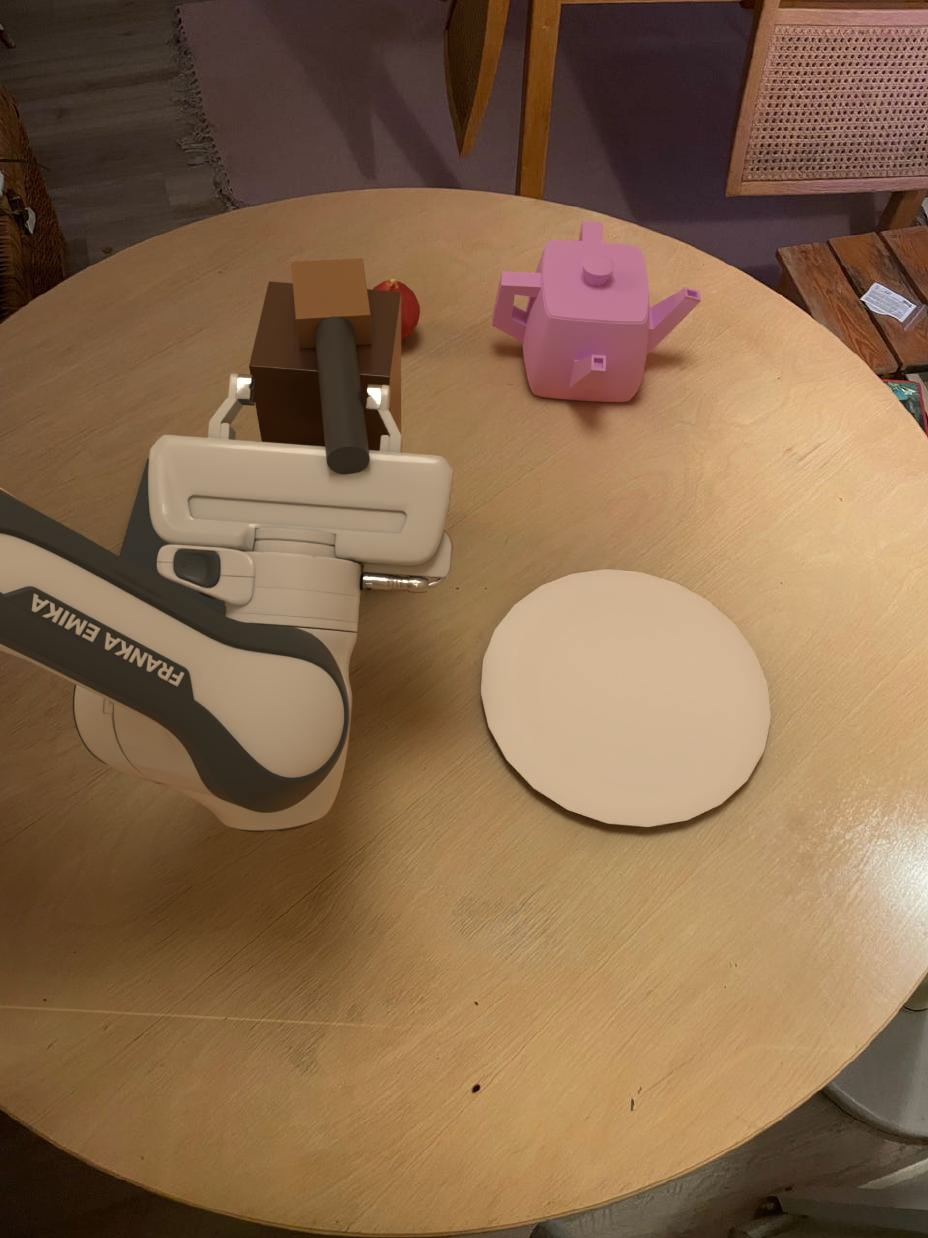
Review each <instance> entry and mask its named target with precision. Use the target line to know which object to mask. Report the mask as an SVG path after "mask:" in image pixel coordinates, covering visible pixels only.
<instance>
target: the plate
mask: <svg viewBox="0 0 928 1238" xmlns="http://www.w3.org/2000/svg"><path fill="white" fill-rule="evenodd" d="M481 669H482V670H481V681H480V682H481V684H480V697H481V701H482V706H483V709H484V714H485V718H486V719H485V720H486V723H487V727H488V730H489V732H490V733H491V734H492V737H493V738H494V739H493V740H495V742H496V744H497V746H498V748H499V750H500V752H501V753H502V755H503V757H504V759H505V761H506V762H507V763H508V764H509V765H510V766H511V767H512V768H513V769H514V770H515V771H516V772H517V774H519V776H520V777H521V778H522V779H523V780H524V781H525V782H526V783H527V784H528V785H529V786H530V787H531V788H532V789H533V790H534V791H536V792H538V793H539V794H541V795H542V796H544V797H545V798H547V799H548V800H550V801H551V802H553V803H554V804H556V805H558V806H559V807H561V808H563V809H564V810H566V811H567V812H569V813H573V814H576V815H579V816H582V817H585V818H588V819H591V820H594V821H596V822H598V823H602V824H606V825H612V826H623V827H634V828H635V827H636V828H647V829H649V828H653V827H659V826H667V825H671V824H678V823H683V822H688V821H690V820H692V819H694V818H696V817H698V816H701V815H703V814H704V813H707V812H709V811H711V810H713V809H715V808H718V807H719V806H721V805H722V804H723V803H724V802H726V801H727V800H728V799H729V798H730V797H731V796H732V795H733V794H734V793H735V792H737V791H738V790H739V789H740V788H741V787H742V786H743V785H744V784H746V783H747V782H748V780H749V779H750V777H751V775H752V774H753V772H754V769H755V768H756V767H757V765H758V763H759V761H760V760H761V758H762V756H763V754H764V753H765V749H766V744H767V740H768V735H769V730H770V725H771V720H772V714H771V713H772V711H771V703H770V702H771V701H770V693H769V684H768V681H767V679H766V677H765V676H766V675H765V673H764V670H763V669H762V665H761V664H760V660H759V658H758V656H757V653H756V652H755V649H754V648H753V647H752V646H751V644H750V643H749V642H748V640H747V639H746V638H745V636H744V635H743V633H742V632H741V630H740V629H739V628H738V627H737V625H736V624H735V622H733V621H732V620H731V618H729V617H728V616H727V615H725V613H723V611H721V610H720V609H718V608H717V607H716V606H715V605H714V604H713V603H711V602H710V601H709V600H708V599H706V598H705V597H703V596H701V595H699V594H698V593H696V592H693V590H690V589H689V588H686V587H685V586H683V585H682V584H679V583H677V582H676V581H672V580H669V579H665V578H662V577H659V576H655V575H652V574H648V573H646V572H642V571H632V570H620V569H608V568H605V569H598V570H590V571H582V572H574V573H570V574H567V575H565V576H562V577H559V578H557V579H554V580H552V581H549V582H547V583H544V584H542V585H539V586H538V587H537V588H535V589H534V590H533V591H532V592H530V593H529V594H527V595H525V596H524V597H523V598H522V599H521V600H519V601H517V602H515V604H513V606H512V607H511V609H510V610H509V611H508V612H507V614H505V616H504V617H503V618H502V620H500V622H499V623H498V625H497V626H496V627H495V628H494V631H493V632H492V636H491V638H490V640H489V643H488V645H487V649H486V651H485V653H484V656H483V659H482V668H481Z"/></svg>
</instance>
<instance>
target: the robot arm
mask: <svg viewBox="0 0 928 1238" xmlns="http://www.w3.org/2000/svg"><path fill="white" fill-rule="evenodd" d="M255 390H256V379H255V378H254V376H253V375H250V374H245V373H234V372H231V373H230V375H229V383H228V395H227V397H226V398H225V399H224V400H223V402H222V403H221V405H220V406H219V407H218V408H217V410H216V411H215V413H213V415H212V417H211V418H210V420H209V421H208V432H207V437H204V436H203V437H202V436H191V435H178V434H177V435H176V434H163V435H161V436H160V437H159V438H158V439H157V440H156V441H155V443H153V444H152V446H151V447H150V449H149V455H148V458H149V467H148V495H149V510H150V518H151V522H152V525H153V527H154V530H155V531H156V533H157V534H158V535H159V537H160V538H162V539H163V540H164V541H166V542H168V543H170V544H172V545H165V546H163V547H162V548H161V549H160V550H159V552H158V556H157V570H158V572H159V574H160V575H162V576H163V577H165V578H167V579H169V580H171V581H173V582H176V583H178V584H181V585H183V586H186V587H189V588H191V589H194V590H196V591H198V593H199V594H200V595H203V596H204V597H207V598H212V599H216V598H217V599H219V600H222V601H225V606H226V616H224V615H222V614H220V613H218V612H216V611H214V610H212V609H210V608H208V607H206V606H204V605H203V604H201V603H199V602H197V601H196V600H194V599H192V598H190V597H189V596H187V595H185V594H184V593H182V592H180V591H178V590H177V589H175V588H173V587H171V586H170V585H168V584H166V583H164V582H163V581H161V580H159V579H157V578H156V577H154V576H152V575H151V574H149V573H147V572H145V571H144V570H142V569H140V568H138V567H137V566H135V565H133V564H131V563H130V562H128V561H126V560H124V559H123V558H121V557H119V555H118V554H116V553H114V552H112V550H109V549H107V548H105V547H103V546H102V545H100V544H98V543H97V542H95V541H93V540H91V539H89V538H88V537H86V536H84V535H83V534H81V533H79V532H77V531H76V530H73V529H72V528H70V527H69V526H66V525H65V524H63V523H61V522H59V521H57V520H56V519H54V518H51V517H50V516H48V515H47V514H44V513H43V512H41V511H39V510H37V509H35V508H34V507H32V506H30V505H29V504H27V503H25V502H24V501H22V500H20V499H19V498H17V497H16V496H14V495H13V494H11V492H8V491H7V490H6V489H4V487H1V486H0V652H3V653H7V654H8V655H12V656H15V657H17V658H20V659H21V660H25V661H26V662H29V663H31V664H33V665H35V666H37V667H40V668H41V669H43V670H46V671H48V672H50V673H52V674H54V675H56V676H58V677H60V678H62V679H64V680H66V681H68V682H70V683H72V684H74V688H73V694H72V715H73V721H74V726H75V728H76V732H77V734H78V737H79V738H80V740H81V742H82V744H83V745H84V747H85V748H86V750H87V751H88V752H89V753H90V754H91V755H92V756H93V757H94V758H95V759H97V760H98V761H99V762H101V763H103V764H104V765H107V766H109V767H111V768H113V769H115V770H116V771H118V772H120V773H123V774H125V775H129V776H131V777H135V778H137V779H141V780H144V781H147V782H150V783H153V784H157V785H159V786H162V787H165V788H167V789H170V790H173V791H175V792H177V793H178V794H182V795H184V796H185V797H188V798H190V799H191V800H193V801H195V802H197V803H199V804H200V805H202V806H203V807H205V808H206V809H208V810H210V812H212V813H213V814H214V815H215V816H216V818H217V819H218V820H219V821H220V822H221V823H222V824H224V825H225V826H226V827H228V828H231V829H234V830H238V831H242V832H247V833H263V834H264V833H267V832H268V833H269V832H279V833H281V832H285V831H286V832H287V831H292V830H296V829H300V828H304V827H307V826H309V825H313V823H316V822H318V821H319V820H320V819H322V818H323V817H325V816H326V815H327V814H328V813H329V812H330V811H331V809H332V807H333V805H334V803H335V800H336V799H337V796H338V793H339V790H340V787H341V784H342V780H343V776H344V771H345V767H346V762H347V761H346V760H347V756H348V748H349V740H350V732H351V724H352V723H351V721H352V711H353V710H352V709H353V692H352V687H351V683H350V682H351V681H350V662H351V657H352V654H353V651H354V648H355V647H356V643H357V639H358V632H359V631H358V629H359V616H360V606H361V605H360V604H361V594H362V593H361V592H362V591H363V590H365V591H366V590H367V591H381V592H388V591H390V592H392V591H399V592H400V591H402V592H407V593H411V594H424V593H425V594H426V593H427V592H428V589H433V588H436V587H438V586H440V585H442V584H443V583H444V582H445V581H446V580H447V579H448V577H449V576H450V574H451V571H452V569H453V567H452V566H453V553H454V544H453V539H452V538H451V536H450V534H449V533H448V532H447V530H445V528H446V524H447V520H448V516H449V510H450V505H451V499H452V493H453V492H452V491H453V483H454V475H455V474H454V472H455V471H454V469H453V467H452V465H451V464H450V462H449V461H448V460H447V459H446V458H445V457H444V456H442V455H437V454H426V453H414V452H413V453H411V452H403V445H404V441H403V437H402V433H401V434H400V432H399V430H398V428H397V426H396V424H395V422H394V419H393V417H392V415H391V413H390V411H389V408H390V386H388V385H373V384H368V389H367V393H368V398H367V401H366V410H367V413H368V415H377V416H380V418H381V420H382V422H383V425H384V427H385V429H386V431H387V433H388V435H389V436H388V435H382V436H381V442H380V451H375V450H369V456H370V461H369V464H368V466H367V467H366V468H365V469H364V470H362V471H360V472H358V473H352V474H338V473H336V472H334V471H332V470H331V469H330V468H329V467H328V465H327V461H326V451H325V447H322V446H309V445H296V444H283V443H270V442H262V441H257V440H243V439H242V440H241V439H236V436H237V431H236V430H235V429H234V428H233V427H232V426H231V425H232V423H233V422H234V420H235V418H236V417H237V416H238V415H239V412H240V411H241V410H242V408H243V406H251V407H256V405H255V395H254V392H255ZM362 565H364V567H362ZM362 569H363V572H364V575H363V574H362ZM429 578H430V579H435V580H432V581H429Z"/></svg>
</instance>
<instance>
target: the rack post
mask: <svg viewBox="0 0 928 1238" xmlns="http://www.w3.org/2000/svg"><path fill="white" fill-rule="evenodd" d="M367 293H368V300H369V307H370V315H371V344H370V345H356V350H357V358H358V366H359V374H360V383H361V391H362V399H363V407H364V415H365V423H366V432H367V440H368V448H369V450H375V451H380V442H381V436H382V435H388V433H387V431H386V429H385V427H384V425H383V422H382V420H381V418H380V416H377V415H368V413H367V410H366V401H367V398H368V393H367V389H368V384H373V385H388V386H390V408H389V411H390V413H391V415H392V417H393V419H394V422H395V424H396V426H397V428H398V430H399V432H400V434H401V435H402V339H401V292H398V291H385V290H373V288H371V289H370V288H367ZM251 351H252V352H251V356H250V360H249V364H248V369H249V375H253V376H254V378H255V379H256V390H255V392H254V395H255V410H256V416H257V423H258V429H259V435H260V440H261V441H260V442H270V443H283V444H296V445H309V446H322V447H325V440H324V429H323V418H322V408H321V397H320V386H319V376H318V365H317V354H316V348H306V349H299V344H298V335H297V326H296V316H295V304H294V291H293V282H284V281H283V282H282V281H271V280H270V281H268V283H267V287H266V291H265V296H264V300H263V304H262V309H261V313H260V318H259V322H258V326H257V330H256V335H255V339H254V343H253V347H252V350H251ZM388 436H389V435H388ZM362 567H364V565H362ZM362 574H363V575H364V572H363V569H362Z"/></svg>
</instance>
